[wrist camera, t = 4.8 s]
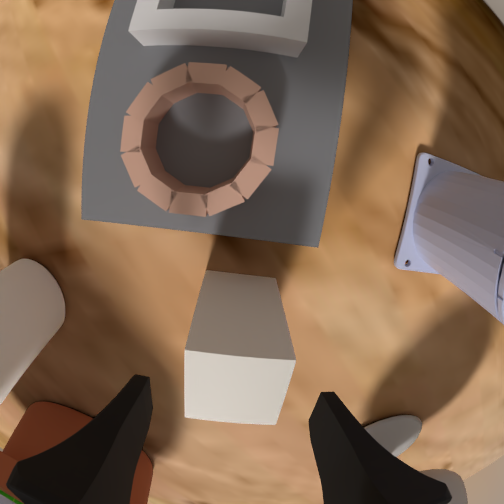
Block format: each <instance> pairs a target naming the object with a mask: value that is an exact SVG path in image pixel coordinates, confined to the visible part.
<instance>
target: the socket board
mask: <svg viewBox="0 0 504 504" xmlns="http://www.w3.org/2000/svg"><path fill="white" fill-rule="evenodd" d="M352 2H353V0H115V1H114V4H113V7H112V10H111V13H110V16H109V19H108V23H107V26H106V30H105V33H104V37H103V41H102V44H101V48H100V53H99V57H98V61H97V66H96V70H95V75H94V80H93V86H92V91H91V97H90V104H89V110H88V118H87V126H86V134H85V145H84V157H83V173H82V219H83V220H93V221H102V222H111V223H120V224H129V225H138V226H147V227H156V228H165V229H173V230H182V231H190V232H199V233H207V234H215V235H223V236H232V237H240V238H248V239H256V240H264V241H272V242H279V243H287V244H295V245H302V246H310V247H318V246H319V241H320V236H321V232H322V227H323V222H324V217H325V212H326V207H327V201H328V196H329V191H330V185H331V179H332V174H333V168H334V162H335V156H336V150H337V143H338V137H339V130H340V123H341V116H342V108H343V101H344V93H345V84H346V75H347V66H348V56H349V45H350V33H351V19H352Z"/></svg>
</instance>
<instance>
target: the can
mask: <svg viewBox="0 0 504 504" xmlns="http://www.w3.org/2000/svg"><path fill="white" fill-rule="evenodd" d="M64 319H65V302H64V297H63V294H62V291H61V288H60V286H59V284H58V283H57V281H56V279H55V278H54V276H53V275H52V274H51V273H50V272H49V271H48V270H47V269H46V268H45V267H44V266H42V265H41V264H39V263H37V262H35V261H33V260H30V259H20V260H17V261H15V262H14V263H12V264H11V265H9V266H7V267H6V268H4V269H3V270H1V271H0V405H1V403H2V402H3V400H4V399H5V398H6V396H7V395H8V394H9V392H10V391H11V389H12V388H13V387H14V385H15V384H16V383H17V381H18V380H19V379H20V377H21V376H22V375H23V373H24V372H25V371H26V370H27V368H28V367H29V366H30V364H31V363H32V362H33V361H34V359H35V358H36V357H37V355H38V354H39V353H40V352H41V350H42V349H43V348H44V347H45V346H46V344H47V343H48V342H49V341H50V339H51V338H52V337H53V336H54V335H55V333H56V332H57V331H58V330H59V328H60V327H61V326H62V324H63V322H64Z"/></svg>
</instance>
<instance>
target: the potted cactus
mask: <svg viewBox="0 0 504 504" xmlns="http://www.w3.org/2000/svg"><path fill="white" fill-rule="evenodd" d="M92 419H94V418H92V417H89V416H87V415H85V414H83V413H81V412H78V411H76V410H73V409H71V408H68V407H65V406H62V405H59V404H55V403H51V402H44V401H41V402H35V403H33V404H31V405H30V406H29V408H28V409H27V410H26V412H25V414H24V415H23V417H22V419H21V420H20V422H19V424H18V425H17V427H16V429H15V430H14V432H13V434H12V436H11V437H10V439H9V441H8V443H7V444H6V446H5V448H4V450H3V452H1V451H0V494H1V495H3V496H5V497H6V498H8V499H9V500H11V501H13V502H14V503H16V504H24V503H23V502H22V501H21V500H20V499H19V498H18V497H16V496H15V495H14V494H13V493H12V492H11V491H10V490H9V489H8V488H7V486H6V483H7V480H8V478H9V476H10V474H11V472H12V470H13V468H14V466H15V465H16V463H17V462H18V461H21V460H24V459H26V458H29V457H32V456H34V455H37V454H39V453H42V452H44V451H46V450H48V449H50V448H52V447H53V446H55V445H57V444H59V443H61V442H62V441H64V440H66V439H67V438H69V437H70V436H72V435H73V434H75V433H76V432H77V431H79V430H80V429H81V428H83V427H84V426H85V425H87V424H88V423H89V422H90V421H91V420H92ZM152 476H153V467H152V464H151V461H150V459H149V458H148V456H147V455H146V454H145V452H144V451H143V450H142V451H141V454H140V457H139V460H138V463H137V466H136V470H135V474H134V479H133V485H132V491H131V498H130V504H147V502H148V496H149V491H150V486H151V481H152Z"/></svg>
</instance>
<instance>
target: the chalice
mask: <svg viewBox="0 0 504 504" xmlns="http://www.w3.org/2000/svg"><path fill="white" fill-rule="evenodd" d="M364 429H365V430H366V431H367V432H368V433H369V434H370V435H371V436H372V437H373V438H374V439H375V440H376V441H377V442H378V443H379V444H380V445H382V446H383V447H384V448H385V449H386V450H388V451H389V452H390V453H391V454H392V455H394V456H395V457H397V456H398V455H400V454H401V453H403V452H404V451H405V450H406V449H408V448H409V447H410V446H411V445H412V444H413V443H414V441H415V440H416V439H417V437H418V435H419V433H420V431H421V429H422V422H421V419H419V418H418V417H417V416H413V415H400V416H395V417H390V418H387V419H383V420H380V421H378V422H375V423H373V424H370V425H368V426H366V427H364ZM419 472H421V473H423V474H425V475H427V476H429V477H431V478H433V479H436V480H438V481H441V482H444V483H446V485H447V487H448V489H449V491H450V493H451V495H452V499H451V501H450V502H449V503H448V504H468V501H467V493H466V489H465V486H464V482H463V480H462V479H461V477H460V476H459V475H458V474H457V473H455V472H453V471H449V470H446V469H432V470H424V471H419Z"/></svg>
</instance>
